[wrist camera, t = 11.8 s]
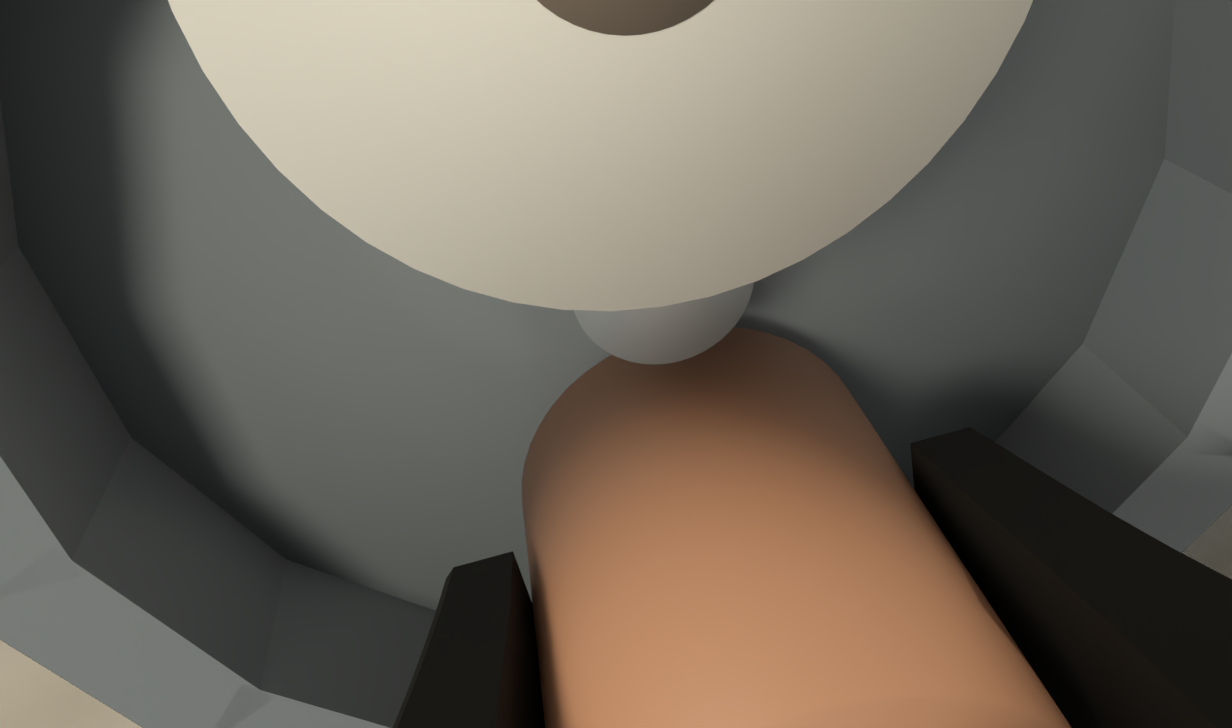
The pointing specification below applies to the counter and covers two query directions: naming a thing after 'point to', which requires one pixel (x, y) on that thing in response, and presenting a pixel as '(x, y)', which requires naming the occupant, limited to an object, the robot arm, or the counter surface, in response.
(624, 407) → the bead terracotta
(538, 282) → the bead cream
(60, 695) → the counter surface
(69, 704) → the counter surface
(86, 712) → the counter surface
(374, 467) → the groove tray
